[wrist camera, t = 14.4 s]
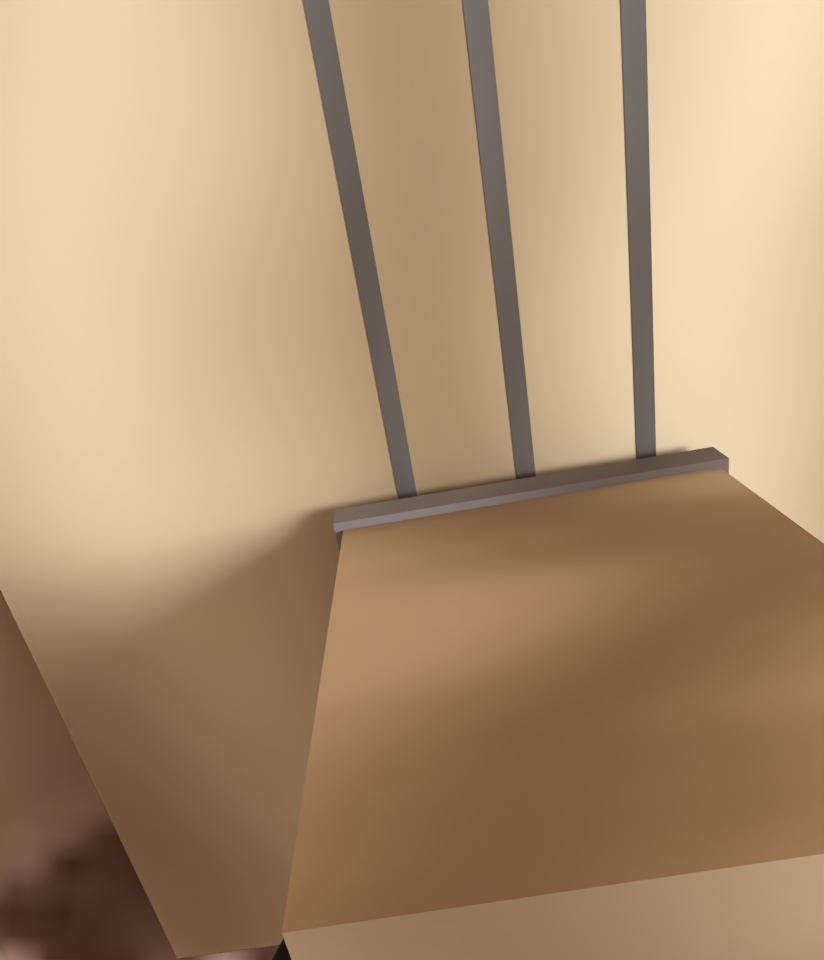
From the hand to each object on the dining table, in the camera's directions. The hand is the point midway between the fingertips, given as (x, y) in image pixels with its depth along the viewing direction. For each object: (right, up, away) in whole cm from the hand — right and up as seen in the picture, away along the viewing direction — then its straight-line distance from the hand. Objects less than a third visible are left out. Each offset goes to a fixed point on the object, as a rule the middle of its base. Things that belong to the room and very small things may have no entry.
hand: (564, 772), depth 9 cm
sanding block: (0, 0, +1) cm, 1 cm away
